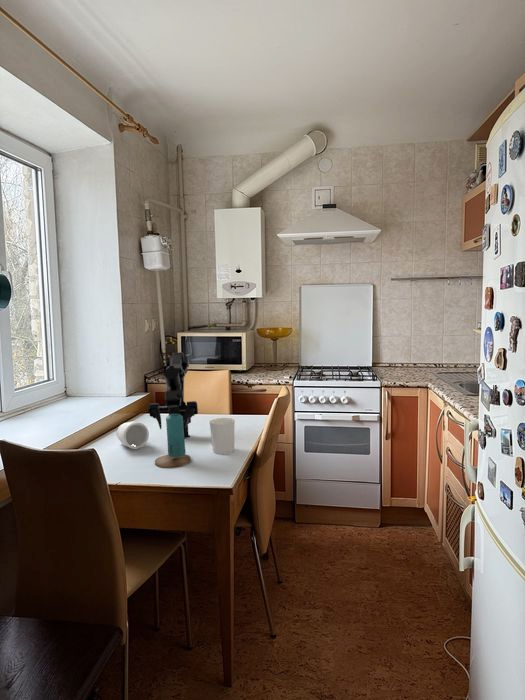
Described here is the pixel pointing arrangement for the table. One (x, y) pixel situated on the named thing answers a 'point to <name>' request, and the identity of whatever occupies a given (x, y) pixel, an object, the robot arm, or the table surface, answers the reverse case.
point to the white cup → (222, 435)
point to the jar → (133, 434)
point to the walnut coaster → (172, 461)
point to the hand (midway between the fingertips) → (172, 427)
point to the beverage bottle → (175, 433)
